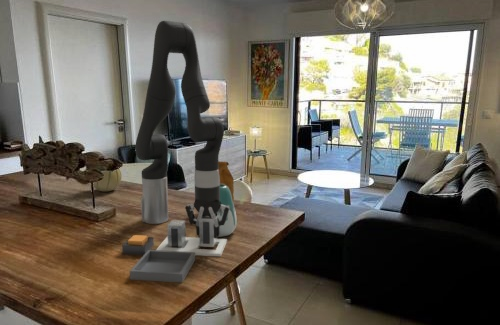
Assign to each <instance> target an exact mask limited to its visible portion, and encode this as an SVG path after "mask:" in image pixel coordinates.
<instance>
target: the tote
mask: <svg viewBox="0 0 500 325" xmlns="http://www.w3.org/2000/svg"><path fill="white" fill-rule="evenodd" d="M194 262H196V255H195V252H181V251H162V250H156V249H150V250H148V251H147V252H146V253H145V254H144V255H142V256H141V257H140V258H139V260H138V261H137V262H136V264H135V265H133V266H132V268H130V270H129V279H130V280H132V281H134V280H136V281H147V282H148V281H150V282H166V283H167V282H169V283H184V280H186V277H187V275H188V274H189V272H190V271H191V268H192V267H193V265H194Z"/></svg>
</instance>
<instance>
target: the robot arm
mask: <svg viewBox="0 0 500 325" xmlns="http://www.w3.org/2000/svg"><path fill="white" fill-rule="evenodd" d="M153 42H154V43H153V50H152V51H153V52H152V62H151V70H150V76H149V81H148V86H147V91H146V96H145V103H144V108H143V109H144V110H143V115H142V120H141V123H140V126H139V130H138V132H137V135H136V136H137V137H136V141H135V147H134V150H135V156H136V157H137V159H138V160H141V161H151V160H153V161H152V163H150V165H148V166H146V167H145V168H143V169H142V170H141V184H142V185H141V186H142V189H141V190H142V197H141V198H140V205H141V207H140V208H141V222H142V223H146V224H151V225H157V224H164V223H166V222H167V221H169V215H170V214H169V213H170V212H169V197H168V196H169V195H168V173H167V172H168V168H169V164H168V163H169V162H168V161H169V159H168V158H169V146H168V141H167V138H166V136H165V135H164V134H161V133H155V134H154V132H155V131H156V130H157V128H158V127H159V126H160V124H161V123H162V122H163V121H164V120H165V119H166V117H168V116H169V114H170V113H171V112H172V110H173V106H174V102H175V99H176V98H175V97H176V93H177V92H176V87H175V84H174V81H173V79H172V76H171V75H170V72H169V69H168V60H169V55H170V54H182V56H183V58H184V62H185V67H184V71H183V75H182V78H181V82H180V90H181V94H182V96H183V102H184V104H185V106H186V118H187V134H188V136H189V138H190V139H191V140H192V141H193V142H195V143H204V142H206V144H205V146H203V147H202V148H200V149H198V150H196V151H195V153H194V165H195V166H194V169H195V171H194V201H193V203H188V204H186V206H185V211H186V214H187V217H188V220H189V223H190V224H191V225H194V226H195V229H196V231H195V233H196V236H197V238H199V218H202V216H209V217H212V218H214V225H215V227H214V238H217V239H218V238H219V237H218V236H219V234H220V226H221V225H224V224H225V222H226V219H227V215H228V212H229V209H230V206H229V205H227V206H226V205H222V204H221V202H220V177H219V164H218V161H219V156H220V151H221V147H222V146H221V145H222V142H223V138H224V135H225V127H224V123H223V122H222V120H221V119H220V118H219V117H217V116H209V117H207V116H205V117H204V116H203V117H202V116H201V114H203V113H205V112H207V111H208V110H209V109H210V107H211V104H210V103H211V102H210V99H209V95H208V93H207V90H206V87H205V85H204V81H203V78H202V73H201V67H200V60H199V54H198V48H197V41H196V37H195V33H194V30H193V28H192V27H191V25H189V24H188V23H184V22H179V21H170V20H161V21H159V22H158V24H157V26H156V29H155V34H154V41H153ZM220 208H221V209H222V212H223V216H222V220H220V221H219V218H218V213H217V211H218V210H219V209H220ZM194 210H196V211H197V213H198V215H197V218H196V216H195V213H194ZM213 216H214V217H213Z"/></svg>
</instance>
